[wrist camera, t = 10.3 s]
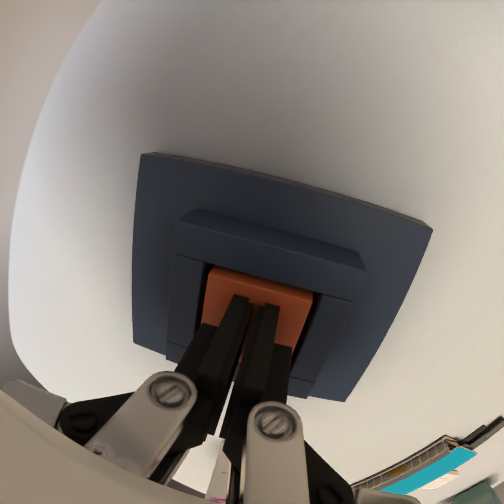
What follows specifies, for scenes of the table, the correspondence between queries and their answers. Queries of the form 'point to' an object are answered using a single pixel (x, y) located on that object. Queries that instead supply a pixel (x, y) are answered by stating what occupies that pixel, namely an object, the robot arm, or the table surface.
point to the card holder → (430, 464)
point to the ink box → (219, 479)
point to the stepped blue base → (270, 262)
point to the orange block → (257, 302)
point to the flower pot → (478, 495)
